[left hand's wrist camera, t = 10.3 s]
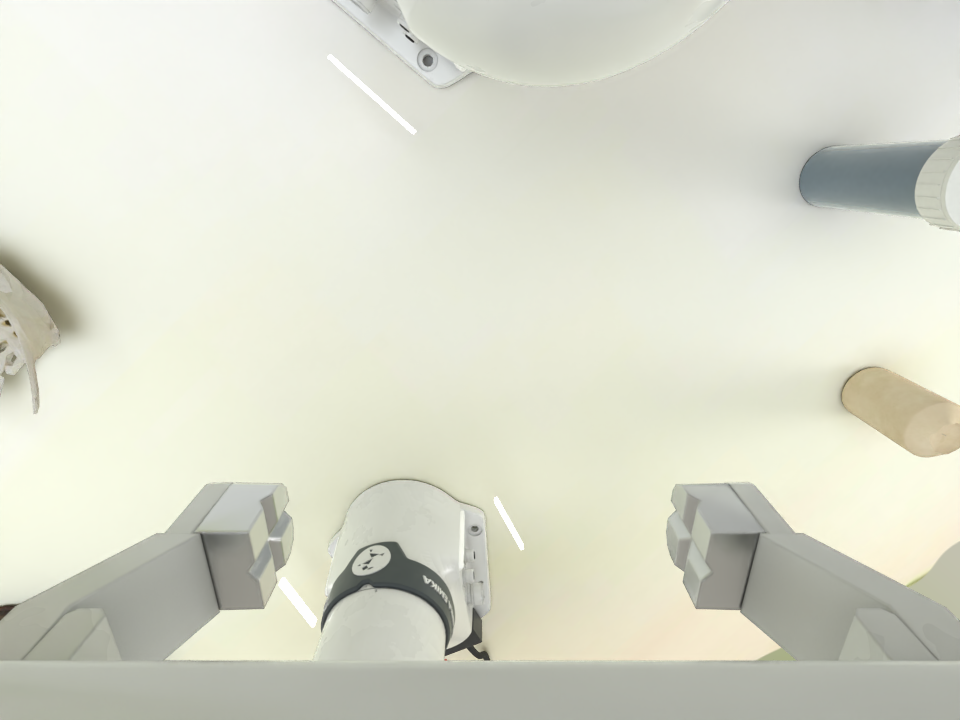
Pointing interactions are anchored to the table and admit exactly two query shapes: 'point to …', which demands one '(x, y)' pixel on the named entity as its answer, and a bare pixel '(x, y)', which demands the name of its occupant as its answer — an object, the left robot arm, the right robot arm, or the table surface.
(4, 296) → the anatomical model
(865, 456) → the table surface
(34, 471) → the table surface
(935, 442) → the candle
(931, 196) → the lid
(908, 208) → the jar
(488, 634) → the table surface
